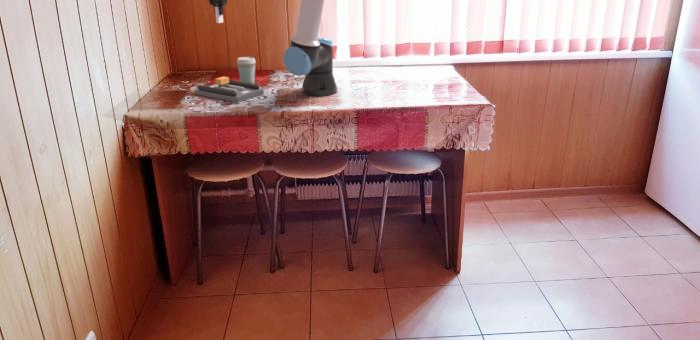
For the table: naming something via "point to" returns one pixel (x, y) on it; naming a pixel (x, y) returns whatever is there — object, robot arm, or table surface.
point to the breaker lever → (222, 81)
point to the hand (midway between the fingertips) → (219, 22)
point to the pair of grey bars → (228, 92)
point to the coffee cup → (246, 69)
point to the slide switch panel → (242, 92)
